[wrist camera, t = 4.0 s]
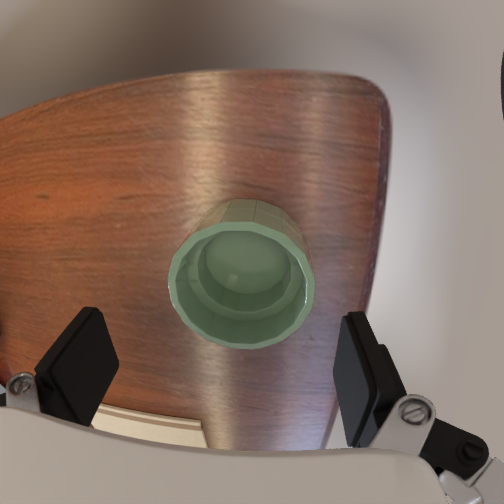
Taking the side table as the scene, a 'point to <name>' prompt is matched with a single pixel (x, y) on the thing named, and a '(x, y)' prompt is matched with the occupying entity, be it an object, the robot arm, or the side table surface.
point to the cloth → (150, 426)
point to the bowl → (243, 276)
